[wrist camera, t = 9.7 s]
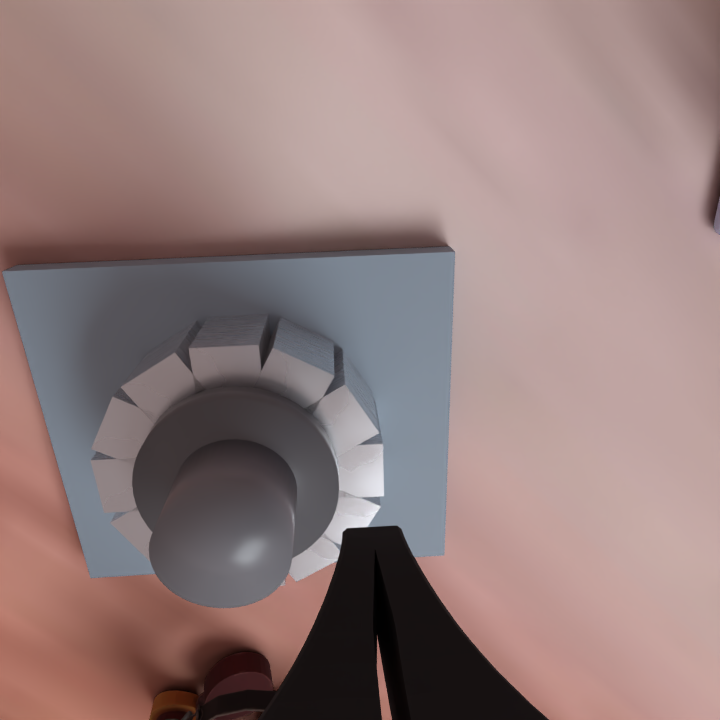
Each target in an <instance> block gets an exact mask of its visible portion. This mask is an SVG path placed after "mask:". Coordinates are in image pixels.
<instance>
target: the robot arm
mask: <svg viewBox="0 0 720 720" xmlns="http://www.w3.org/2000/svg"><path fill="white" fill-rule="evenodd" d="M714 229H715V231H716V233H717V234H719V235H720V198H719V203H718V208H717V212H716V217H715V222H714ZM377 636H378V642H379V648H380V653H381V659H382V665H383V671H384V676H385V682H386V688H387V693H388V699H389V705H390V710H391V716H392V720H549V719H547V718H546V717H545V716H544V715H543V714H542V713H541V712H540V711H538V710H537V709H536V708H535V707H534V706H533V705H532V704H531V703H529V702H528V701H527V700H526V699H525V698H524V697H523V696H522V695H521V694H520V693H519V692H518V691H517V690H516V689H515V688H514V687H513V686H512V685H511V684H510V683H509V682H508V681H507V680H506V679H505V678H504V677H503V676H502V675H501V674H500V673H499V672H498V671H497V670H496V669H495V668H494V667H493V665H492V664H491V663H490V662H489V661H488V660H487V659H486V658H485V657H484V656H483V654H482V653H481V652H480V651H479V650H478V649H477V647H476V646H475V645H474V644H473V643H472V642H471V640H470V639H469V638H468V637H467V635H466V634H465V633H464V632H463V630H462V629H461V628H460V627H459V625H458V624H457V623H456V621H455V620H454V619H453V617H452V616H451V614H450V613H449V612H448V610H447V609H446V607H445V606H444V605H443V603H442V602H441V600H440V599H439V597H438V596H437V594H436V593H435V591H434V590H433V588H432V586H431V585H430V583H429V582H428V580H427V578H426V577H425V575H424V574H423V572H422V570H421V568H420V567H419V565H418V563H417V561H416V559H415V558H414V556H413V554H412V552H411V550H410V548H409V546H408V544H407V541H406V539H405V537H404V534H403V532H402V529H401V528H400V527H399V526H397V525H395V526H377V527H359V528H347V529H346V530H344V531H343V532H342V543H341V548H340V553H339V557H338V561H337V564H336V568H335V571H334V574H333V577H332V580H331V583H330V586H329V588H328V591H327V594H326V597H325V599H324V602H323V604H322V606H321V609H320V611H319V613H318V616H317V618H316V620H315V623H314V625H313V627H312V629H311V631H310V633H309V635H308V638H307V640H306V642H305V643H304V645H303V647H302V649H301V651H300V653H299V655H298V657H297V659H296V660H295V662H294V664H293V666H292V667H291V669H290V671H289V672H288V674H287V676H286V677H285V679H284V681H283V682H282V684H281V686H280V687H279V689H278V691H277V692H276V694H275V695H274V697H273V698H272V700H271V701H270V703H269V704H268V706H267V707H266V709H265V710H264V711H263V713H262V714H261V716H260V717H259V718H258V720H382V716H381V707H380V697H379V687H378V677H377Z"/></svg>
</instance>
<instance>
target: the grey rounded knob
mask: <svg viewBox="0 0 720 720" xmlns="http://www.w3.org/2000/svg"><path fill="white" fill-rule="evenodd" d="M132 488H133V495H134V499H135V503H136V506H137V508H138V511H139V513H140V515H141V517H142V519H143V520H144V522H145V523H146V525H147V526H148V528H149V529H150V530H151V531H152V532H153V533H152V535H151V538H150V542H149V558H150V562H151V565H152V568H153V570H154V572H155V574H156V575H157V577H158V578H159V580H160V581H161V582H162V583H163V584H164V585H165V586H166V587H167V588H168V589H169V590H170V591H172V592H173V593H175V594H176V595H178V596H179V597H181V598H183V599H185V600H187V601H190V602H192V603H195V604H198V605H202V606H207V607H214V608H234V607H240V606H245V605H249V604H252V603H255V602H257V601H259V600H262V599H263V598H265V597H267V596H269V595H270V594H271V593H273V592H274V591H275V590H276V589H277V588H278V587H279V586H280V585H281V584H282V583H283V581H284V580H285V578H286V576H287V575H288V573H289V570H290V567H291V562H292V558H294V557H296V556H297V555H299V554H301V553H303V552H304V551H305V550H307V549H308V548H309V547H311V546H312V545H313V544H314V543H315V542H316V541H317V540H318V539H319V538H320V537H321V536H322V534H323V533H324V532H325V531H326V529H327V528H328V526H329V524H330V522H331V521H332V519H333V516H334V514H335V511H336V508H337V503H338V499H339V470H338V460H337V456H336V452H335V449H334V446H333V444H332V442H331V439H330V438H329V436H328V434H327V433H326V431H325V429H324V428H323V427H322V426H321V424H320V423H319V422H318V421H317V419H315V418H314V417H313V416H312V415H311V414H310V413H309V412H308V411H307V410H305V409H304V408H303V407H301V406H300V405H298V404H297V403H295V402H293V401H291V400H290V399H288V398H286V397H284V396H281V395H279V394H276V393H274V392H270V391H267V390H263V389H259V388H252V387H242V386H229V387H218V388H213V389H208V390H204V391H202V392H199V393H196V394H193V395H191V396H189V397H187V398H185V399H183V400H181V401H179V402H178V403H176V404H175V405H173V406H172V407H171V408H169V409H168V410H167V411H166V412H165V413H164V414H163V415H162V416H161V417H160V418H159V419H158V421H157V422H156V423H155V424H154V426H153V428H152V429H151V431H150V433H149V434H148V436H147V438H146V439H145V441H144V443H143V445H142V446H141V448H140V450H139V452H138V455H137V457H136V460H135V463H134V468H133V474H132Z"/></svg>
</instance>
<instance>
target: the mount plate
mask: <svg viewBox="0 0 720 720" xmlns="http://www.w3.org/2000/svg"><path fill="white" fill-rule="evenodd" d="M454 265H455V251H454V250H453V249H452V248H451V247H450V246H445V247H422V248H398V249H375V250H352V251H329V252H306V253H283V254H259V255H236V256H213V257H190V258H167V259H144V260H121V261H97V262H74V263H51V264H28V265H16V266H13V267H11V268H9V269H7V270H4V271H2V273H3V277H4V280H5V284H6V287H7V291H8V294H9V297H10V301H11V304H12V308H13V311H14V315H15V318H16V322H17V325H18V329H19V332H20V336H21V339H22V342H23V346H24V349H25V353H26V356H27V360H28V363H29V367H30V370H31V374H32V377H33V380H34V384H35V387H36V391H37V394H38V398H39V401H40V405H41V408H42V412H43V415H44V418H45V422H46V425H47V429H48V432H49V436H50V439H51V443H52V446H53V450H54V453H55V456H56V460H57V463H58V467H59V470H60V474H61V477H62V481H63V484H64V488H65V491H66V495H67V498H68V501H69V505H70V508H71V512H72V515H73V519H74V522H75V526H76V529H77V533H78V536H79V539H80V543H81V546H82V550H83V553H84V557H85V560H86V564H87V567H88V571H89V574H90V577H91V578H100V577H115V576H131V575H146V574H155V572H154V570H153V568H152V565H151V562H150V561H149V560H148V559H147V558H146V557H145V556H144V555H143V554H142V553H141V552H140V551H139V550H138V549H137V548H136V547H134V546H133V545H132V544H131V543H130V542H129V541H128V540H127V539H126V538H125V537H124V536H123V535H122V534H121V533H120V532H119V531H118V530H117V529H116V528H115V527H114V526H113V525H112V524H111V523H110V522H111V520H112V519H113V517H114V515H115V513H116V512H112V513H104V511H103V507H102V503H101V499H100V495H99V492H98V488H97V484H96V480H95V476H94V472H93V469H92V465H91V461H90V460H91V459H92V457H93V456H94V455H95V453H96V452H97V451H95V450H92V449H91V448H92V445H93V443H94V440H95V438H96V436H97V433H98V431H99V428H100V426H101V423H102V421H103V419H104V416H105V414H106V411H107V409H108V406H109V404H110V401H111V399H112V397H113V395H114V394H115V393H116V392H117V390H118V389H119V388H120V387H121V385H122V384H123V383H124V382H125V380H126V379H127V378H128V377H129V375H130V374H131V373H132V372H133V370H134V369H135V368H136V367H137V365H138V364H139V363H140V362H141V360H142V359H143V358H144V357H145V356H146V355H147V353H148V352H149V351H150V350H151V349H153V348H154V347H156V346H157V345H159V344H161V343H162V342H164V341H165V340H167V339H168V338H170V337H171V336H173V335H175V334H176V333H178V332H179V331H181V330H182V329H184V328H185V327H187V326H188V325H190V324H192V323H193V322H195V321H196V320H197V321H198V322H199V323H200V325H201V326H203V325H204V323H205V321H206V320H207V318H208V317H209V316H229V315H250V314H269V324H270V334H271V335H272V333H273V331H274V329H275V327H276V325H277V323H278V321H279V319H280V317H281V316H282V317H284V318H286V319H288V320H290V321H292V322H294V323H296V324H298V325H301V326H303V327H305V328H307V329H309V330H311V331H313V332H315V333H317V334H319V335H322V336H324V337H326V338H328V339H330V340H332V341H334V354H335V353H336V352H338V351H340V350H341V349H343V350H344V352H345V353H346V354H347V356H348V357H349V359H350V360H351V362H352V363H353V365H354V366H355V368H356V369H357V370H358V372H359V373H360V375H361V376H362V378H363V379H364V381H365V382H366V383H367V385H368V386H369V388H370V389H371V391H372V393H373V399H374V402H376V407H377V413H378V418H379V424H380V430H381V435H382V441H383V471H384V496H379V497H380V504H381V507H380V508H379V510H378V512H377V513H376V515H375V516H374V518H373V519H372V521H371V522H370V524H369V525H368V527H377V526H395V525H397V526H399V527H400V528H401V529H402V532H403V534H404V537H405V539H406V541H407V544H408V546H409V548H410V550H411V552H412V554H413V556H414V557H425V556H441V555H444V550H445V521H446V493H447V465H448V436H449V408H450V379H451V351H452V322H453V294H454ZM337 561H338V560H337ZM337 561H335V562H337Z"/></svg>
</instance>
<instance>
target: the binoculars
mask: <svg viewBox="0 0 720 720" xmlns="http://www.w3.org/2000/svg"><path fill="white" fill-rule="evenodd" d="M276 692H277V691H273V683H272V677H271V670H270V664H269V662H268V660H267V659H266V658H265V657H264V656H262V655H260V654H258V653H254V652H241V653H236V654H232V655H230V656H227V657H225V658H224V659H222V660H220V661H219V662H218V663H216V664H215V665H214V666H213V667H212V669H211V670H210V671H209V673H208V675H207V676H206V679H205V682H204V692H203V693H202V694H201V695H200V696H198V695H196V694H193V693H190V692H185V691H178V690H175V691H166V692H162V693H160V694H158V695H157V696H156V697H155V699H154V702H153V706H152V711H151V715H150V719H149V720H232V719H236V718H240V717H243V716H246V715H248V714H250V713H253V712H255V711H264V710H265V709H266V707H267V706H268V704H269V703H270V701H271V700H272V698H273V697H274V695H275V694H276Z"/></svg>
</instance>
